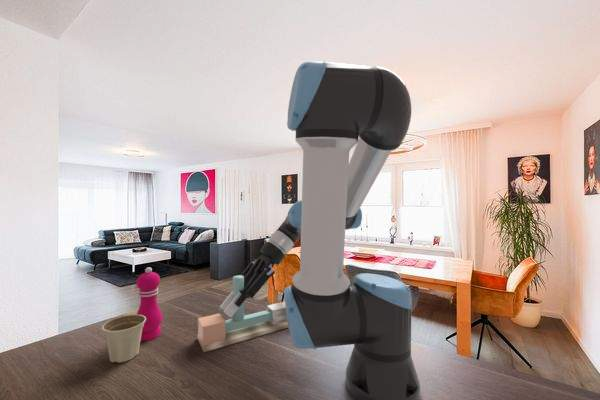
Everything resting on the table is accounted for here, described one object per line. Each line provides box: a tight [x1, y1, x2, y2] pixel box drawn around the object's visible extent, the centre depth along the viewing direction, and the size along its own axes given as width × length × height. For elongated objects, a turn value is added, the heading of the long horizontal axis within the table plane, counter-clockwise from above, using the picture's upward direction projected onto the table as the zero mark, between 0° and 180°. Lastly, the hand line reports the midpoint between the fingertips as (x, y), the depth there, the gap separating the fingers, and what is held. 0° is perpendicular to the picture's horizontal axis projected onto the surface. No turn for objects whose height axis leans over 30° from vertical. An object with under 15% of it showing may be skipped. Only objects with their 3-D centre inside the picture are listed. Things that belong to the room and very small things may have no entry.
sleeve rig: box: [196, 301, 289, 353], centre depth 81 cm, size 30×8×6 cm, turn 122°
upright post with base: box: [224, 274, 272, 333], centre depth 80 cm, size 21×3×15 cm, turn 122°
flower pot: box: [101, 314, 146, 364], centre depth 68 cm, size 9×9×9 cm
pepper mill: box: [135, 266, 163, 342], centre depth 78 cm, size 7×7×20 cm
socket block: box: [197, 313, 226, 346], centre depth 75 cm, size 6×6×5 cm
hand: (225, 311), depth 77 cm, fingers closed on upright post with base, 3 cm apart
